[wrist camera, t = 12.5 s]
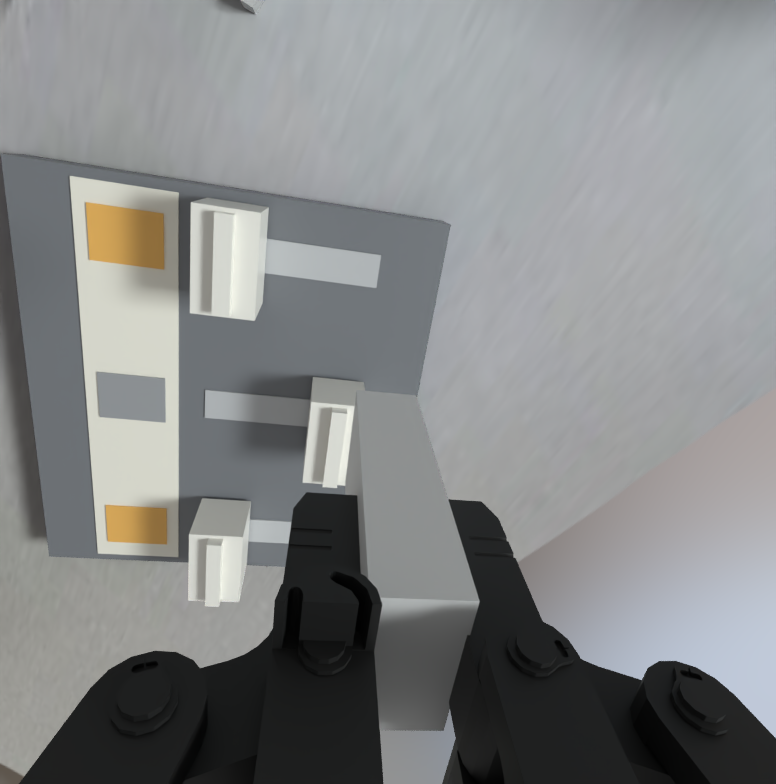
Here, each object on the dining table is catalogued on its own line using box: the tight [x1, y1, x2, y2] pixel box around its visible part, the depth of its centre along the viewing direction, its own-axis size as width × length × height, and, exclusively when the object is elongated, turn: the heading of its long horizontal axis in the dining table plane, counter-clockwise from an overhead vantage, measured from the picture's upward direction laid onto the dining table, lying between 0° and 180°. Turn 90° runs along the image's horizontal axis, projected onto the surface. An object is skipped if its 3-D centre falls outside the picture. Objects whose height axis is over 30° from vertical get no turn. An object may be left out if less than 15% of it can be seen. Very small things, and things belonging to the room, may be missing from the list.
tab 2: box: [303, 377, 365, 488], centre depth 29 cm, size 3×5×4 cm, turn 171°
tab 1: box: [190, 198, 269, 321], centre depth 25 cm, size 3×5×4 cm, turn 171°
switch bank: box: [1, 154, 451, 567], centre depth 31 cm, size 22×24×2 cm
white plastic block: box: [188, 498, 251, 607], centre depth 32 cm, size 3×5×4 cm, turn 171°
